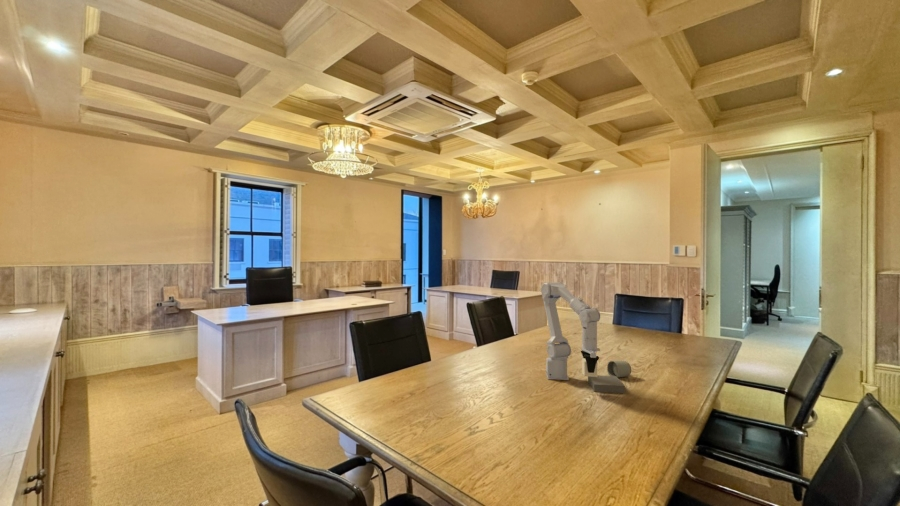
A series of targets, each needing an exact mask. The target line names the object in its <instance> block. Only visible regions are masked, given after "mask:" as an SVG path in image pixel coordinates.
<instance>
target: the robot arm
mask: <svg viewBox="0 0 900 506" xmlns="http://www.w3.org/2000/svg"><path fill="white" fill-rule="evenodd" d="M540 292H541V293H540V294H541V297H542V301H543V306H544V310H545V315H546V321H547V324H548V325H547V327H548V329H549V330H548V332H549V334H550V338H549V339H548V340H547V341H546V348H547V349H546V353H547V355H548V357H546V359H545V376H546V378H547V379H548V380H560V381H569V380H570V378H569V376H568V359H569V356H571V354H572V347H571V345H570V343H569V341H568V338H566V337H564V336H563V331H562V328H561V322H560V319H559V313H558V308H557V302H558V301H559V300H560V299H561V298H563V300H565V301H566V302H567V303H568V304H569V307H570V309H571V310H572V311H573V312H575V313H576V314H577V315H578V317H579V320H580V325H581V329H582V331H581V334H582V336H581V340H582V341H581V343H582V344H581V350H580V353H581V355H582V358H585V359H586V363H587V369H588V372H589V373H594V370H595V366H596V363H597V364H598V361H599V360H600V359H599V358H600V357H599V356H598V355H597V352H600V351H601V349H600V348H599V347H598V322H599V321H600V319H601V313H600V311H599V310H598V308H596V307H591V306H590V305H588V304H587V303H586V302H585V301H584V300H583V298H580V297H576V296H575V295H573V294H572V292H571V291H570V290H569V289H567V285H566V284H565V283H564V282H562V281H557V282H554V281H553V282H543V284H542V285H541V288H540Z"/></svg>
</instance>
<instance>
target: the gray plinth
mask: <svg viewBox="0 0 900 506" xmlns="http://www.w3.org/2000/svg"><path fill="white" fill-rule="evenodd" d="M588 382H589V383H588ZM587 383H588V384H589V386H590V385H591V386H590V387H591V389H592V390H593V392H596V393H612V394H613V393H614V394H625V393H626V386H625V384H624V383H623V382H622V381H621V379H619V378H617V377H616V376H610V375H600V374H599V375H598V374H597V377H591V376H587Z"/></svg>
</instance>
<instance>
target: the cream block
mask: <svg viewBox="0 0 900 506" xmlns="http://www.w3.org/2000/svg"><path fill="white" fill-rule="evenodd" d="M581 373H582V374H583V376H584V377H588V376H591V377H597V375H598V362H597V363H596V366H595V370H594V373H589V372H588V369H587V363H586V359H585V358H583V357H582V358H581Z"/></svg>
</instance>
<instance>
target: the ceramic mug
mask: <svg viewBox="0 0 900 506" xmlns="http://www.w3.org/2000/svg"><path fill="white" fill-rule="evenodd" d="M606 366H607V367H606V372H607V373H608V376H616V377H617V378H618V379H619V378H627V377H629V376H630V375H631V374H632V367H631V365H630V362H628V361H625V360H610V361H609V362H608V363H607V365H606Z"/></svg>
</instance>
